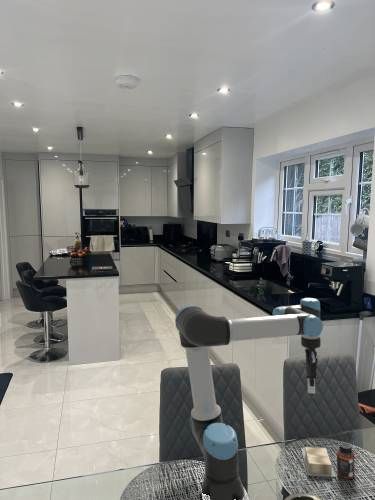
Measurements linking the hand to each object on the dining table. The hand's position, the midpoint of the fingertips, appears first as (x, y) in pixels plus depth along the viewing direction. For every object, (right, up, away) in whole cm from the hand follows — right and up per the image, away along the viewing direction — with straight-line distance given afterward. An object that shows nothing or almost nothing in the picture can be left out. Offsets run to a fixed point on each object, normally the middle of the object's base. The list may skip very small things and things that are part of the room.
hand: (311, 392), depth 149 cm
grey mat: (0, -25, -7) cm, 26 cm away
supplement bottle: (+8, -25, -14) cm, 30 cm away
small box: (0, -22, -4) cm, 23 cm away
